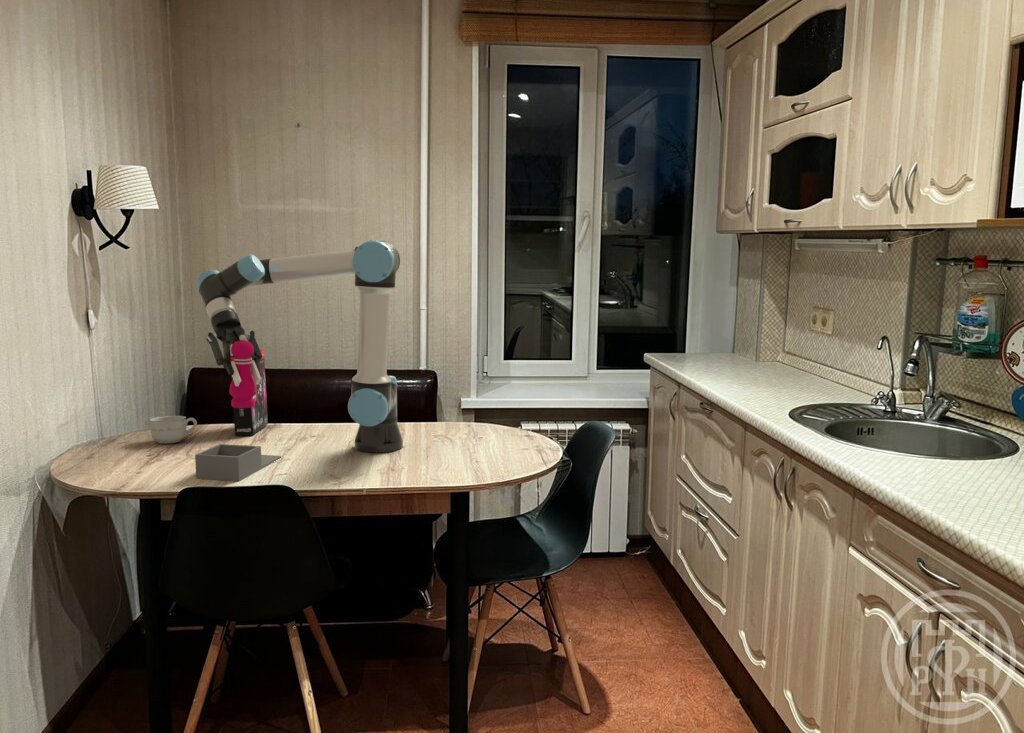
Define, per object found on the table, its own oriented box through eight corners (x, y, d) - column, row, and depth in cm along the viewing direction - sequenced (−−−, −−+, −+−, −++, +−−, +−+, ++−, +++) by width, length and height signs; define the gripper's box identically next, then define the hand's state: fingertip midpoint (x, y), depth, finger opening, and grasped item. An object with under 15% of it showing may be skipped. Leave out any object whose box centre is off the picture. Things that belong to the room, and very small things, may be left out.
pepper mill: (231, 409, 222) (230, 336, 219) (227, 404, 228) (226, 333, 225) (259, 407, 225) (258, 336, 222) (254, 402, 231) (253, 333, 228)
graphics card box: (253, 436, 268) (250, 355, 265) (232, 436, 268) (229, 355, 264) (268, 425, 285) (266, 348, 281) (248, 425, 285) (246, 348, 281)
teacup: (145, 445, 254) (144, 421, 253) (158, 437, 265) (157, 414, 264) (190, 445, 255) (189, 421, 254) (201, 438, 266) (200, 414, 265)
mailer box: (281, 457, 242) (281, 436, 241) (239, 481, 217) (238, 457, 217) (242, 455, 244) (241, 434, 243) (196, 478, 220) (195, 454, 219)
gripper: (250, 324, 240) (275, 387, 231) (188, 326, 228) (212, 393, 219) (257, 308, 236) (283, 371, 226) (195, 309, 224) (219, 377, 214)
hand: (248, 382), depth 222 cm, fingers closed on pepper mill, 5 cm apart
